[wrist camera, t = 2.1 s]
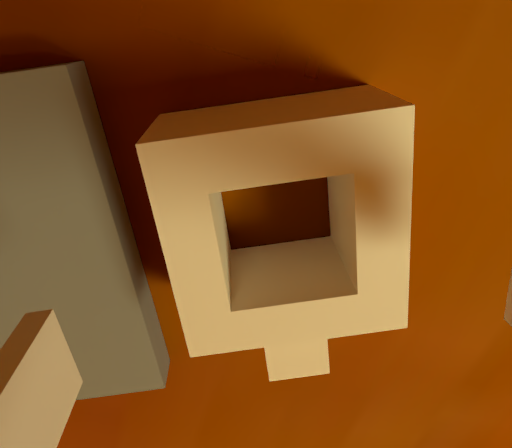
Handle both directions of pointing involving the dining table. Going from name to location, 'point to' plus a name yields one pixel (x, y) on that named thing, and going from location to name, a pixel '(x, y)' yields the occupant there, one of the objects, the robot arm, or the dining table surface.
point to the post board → (72, 233)
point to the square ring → (288, 253)
